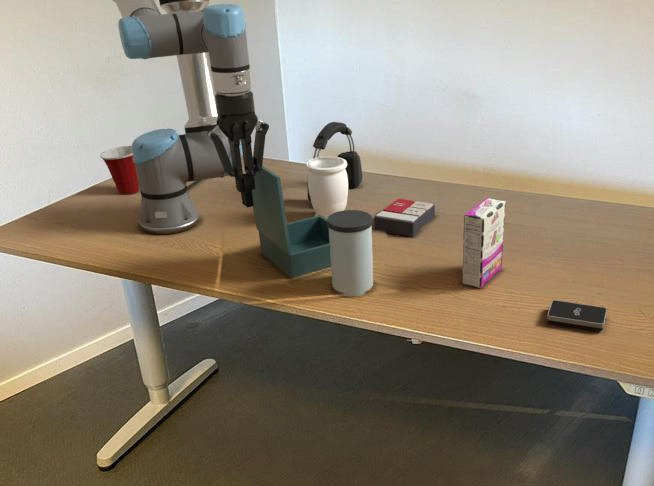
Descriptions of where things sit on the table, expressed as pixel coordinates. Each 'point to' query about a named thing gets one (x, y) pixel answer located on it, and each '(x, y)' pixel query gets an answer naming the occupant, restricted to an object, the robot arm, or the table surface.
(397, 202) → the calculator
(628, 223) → the table surface
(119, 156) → the plastic cup
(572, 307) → the external hard drive
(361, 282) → the canister
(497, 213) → the candy bar box
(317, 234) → the chest
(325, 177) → the jar
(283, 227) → the chest lid
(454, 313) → the table surface
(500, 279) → the table surface
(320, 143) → the headphones
